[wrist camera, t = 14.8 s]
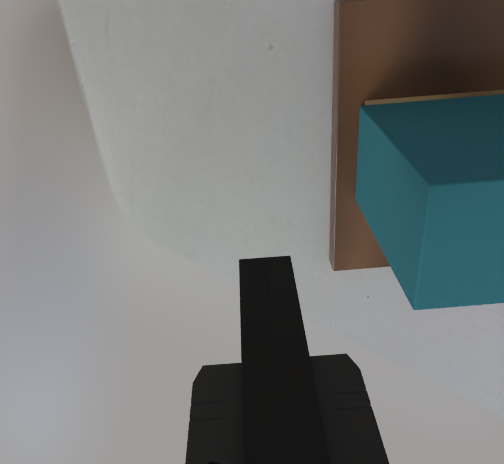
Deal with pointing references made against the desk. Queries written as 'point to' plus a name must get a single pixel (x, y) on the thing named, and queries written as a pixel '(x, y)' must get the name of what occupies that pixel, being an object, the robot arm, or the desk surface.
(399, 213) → the teal block
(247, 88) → the desk surface
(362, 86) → the wooden stand
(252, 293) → the robot arm
